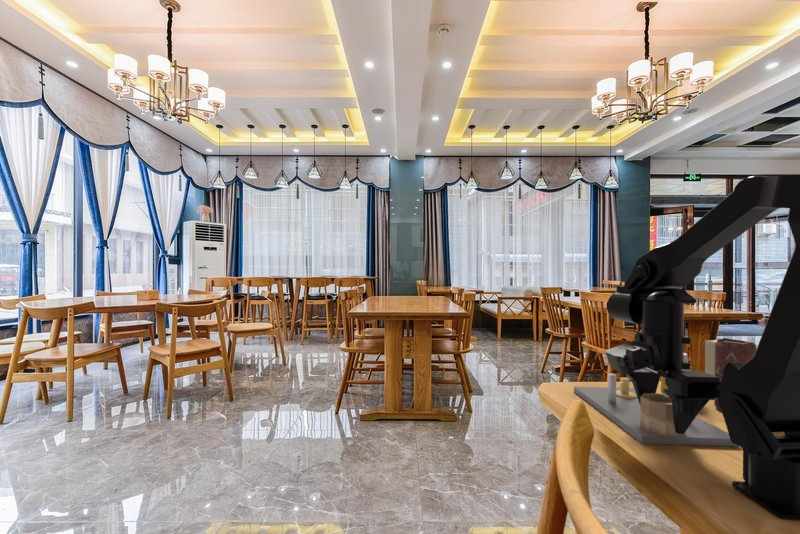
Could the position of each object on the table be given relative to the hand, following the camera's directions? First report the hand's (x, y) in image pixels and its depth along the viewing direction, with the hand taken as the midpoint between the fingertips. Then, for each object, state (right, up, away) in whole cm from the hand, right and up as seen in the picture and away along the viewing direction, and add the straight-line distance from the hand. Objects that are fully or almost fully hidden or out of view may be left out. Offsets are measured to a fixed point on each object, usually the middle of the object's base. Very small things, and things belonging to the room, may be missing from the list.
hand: (661, 422), depth 61 cm
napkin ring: (0, -1, 0) cm, 1 cm away
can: (+23, -3, +12) cm, 26 cm away
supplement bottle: (+17, -3, +20) cm, 26 cm away
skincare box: (+29, -3, +21) cm, 36 cm away
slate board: (+3, -2, +9) cm, 10 cm away
